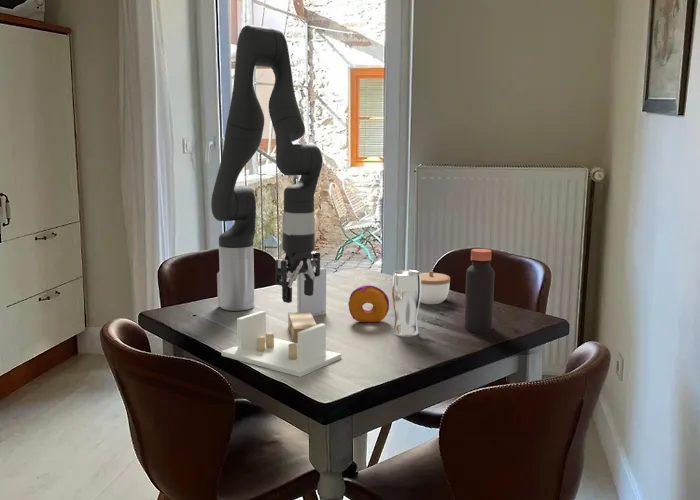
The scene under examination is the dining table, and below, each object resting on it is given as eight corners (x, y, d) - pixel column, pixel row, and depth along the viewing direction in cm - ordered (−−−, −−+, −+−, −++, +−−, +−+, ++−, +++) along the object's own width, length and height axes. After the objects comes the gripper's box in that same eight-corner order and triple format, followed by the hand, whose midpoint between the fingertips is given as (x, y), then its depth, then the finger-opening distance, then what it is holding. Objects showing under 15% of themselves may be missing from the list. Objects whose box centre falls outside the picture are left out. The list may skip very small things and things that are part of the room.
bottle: (474, 324, 178) (478, 246, 174) (497, 330, 173) (501, 250, 170) (458, 329, 173) (461, 250, 170) (481, 335, 169) (485, 254, 165)
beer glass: (400, 339, 165) (402, 277, 163) (386, 331, 172) (387, 271, 169) (425, 335, 169) (427, 274, 166) (410, 327, 175) (411, 268, 172)
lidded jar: (455, 302, 200) (456, 269, 199) (439, 310, 191) (440, 276, 190) (421, 296, 206) (422, 265, 204) (404, 304, 197) (405, 271, 195)
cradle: (221, 355, 153) (220, 320, 151) (264, 339, 164) (264, 306, 163) (300, 376, 141) (300, 338, 139) (341, 358, 152) (341, 322, 150)
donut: (360, 317, 184) (360, 279, 182) (392, 322, 180) (392, 284, 178) (345, 324, 177) (345, 285, 176) (377, 329, 173) (378, 290, 171)
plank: (288, 328, 175) (288, 312, 174) (310, 327, 176) (310, 311, 175) (294, 345, 161) (294, 328, 160) (317, 344, 162) (318, 327, 161)
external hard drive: (326, 314, 187) (326, 268, 184) (299, 318, 182) (299, 271, 180) (323, 312, 188) (323, 267, 186) (296, 317, 183) (296, 270, 181)
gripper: (305, 225, 172) (304, 290, 175) (265, 232, 160) (265, 302, 163) (330, 228, 167) (328, 295, 171) (291, 236, 156) (290, 308, 159)
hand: (298, 298), depth 167 cm, fingers open, 7 cm apart
